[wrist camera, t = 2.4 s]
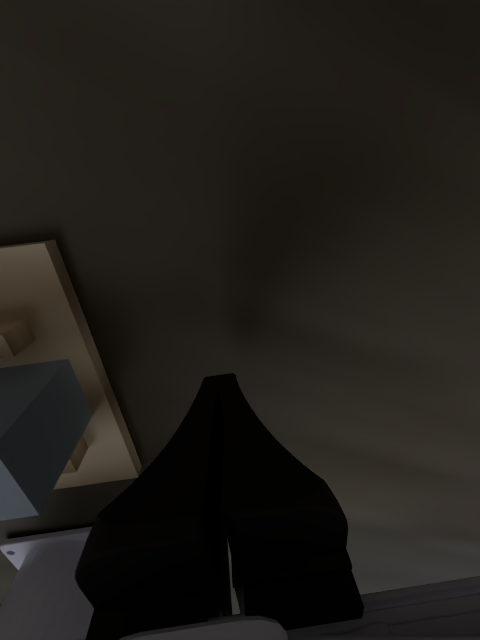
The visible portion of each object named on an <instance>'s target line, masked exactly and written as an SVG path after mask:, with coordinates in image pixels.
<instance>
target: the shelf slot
mask: <svg viewBox="0 0 480 640" xmlns="http://www.w3.org/2000/svg"><path fill="white" fill-rule="evenodd" d="M64 359H69V361H70V364H71V366H72V368H73V370H74V373H75V375H76V377H77V379H78V382H79V384H80V386H81V388H82V391H83V393H84V395H85V397H86V400H87V402H88V404H89V406H90V409H91V411H92V413H93V416H92V418H91V420H90V422H89V423H88V425H87V427H86V429H85V431H84V433H83V435H82V436H81V438H80V440H79V442H78V444H77V446H76V448H75V450H74V451H73V453H72V455H71V457H70V459H69V461H68V463H67V464H66V466H65V468H64V470H63V472H62V474H61V476H60V477H59V479H58V481H57V483H56V485H55V487H54V489H53V490H55V489H62V488H69V487H76V486H83V485H90V484H97V483H104V482H111V481H118V480H125V479H132V478H138V477H139V474H140V470H141V467H142V465H141V463H140V460H139V457H138V455H137V452H136V449H135V447H134V444H133V442H132V439H131V436H130V434H129V431H128V429H127V426H126V423H125V421H124V418H123V416H122V413H121V410H120V408H119V405H118V403H117V400H116V397H115V395H114V392H113V390H112V387H111V384H110V382H109V379H108V377H107V374H106V371H105V369H104V366H103V364H102V361H101V358H100V356H99V353H98V350H97V348H96V345H95V343H94V340H93V337H92V335H91V332H90V330H89V327H88V324H87V322H86V319H85V317H84V314H83V311H82V309H81V306H80V304H79V301H78V298H77V296H76V293H75V291H74V288H73V285H72V283H71V280H70V278H69V275H68V272H67V270H66V267H65V265H64V262H63V259H62V257H61V254H60V252H59V249H58V246H57V244H56V241H55V240H47V241H39V242H31V243H23V244H14V245H6V246H0V368H4V367H11V366H19V365H26V364H34V363H41V362H49V361H56V360H64Z"/></svg>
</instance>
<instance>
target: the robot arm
mask: <svg viewBox="0 0 480 640" xmlns="http://www.w3.org/2000/svg"><path fill="white" fill-rule="evenodd" d="M347 535H348V523H347V520H346V517H345V515H344V513H343V511H342V509H341V507H340V505H339V503H338V501H337V499H336V498H335V496H334V494H333V493H332V491H331V490H330V488H329V487H328V485H327V484H326V482H325V481H324V480H323V479H322V478H320V477H319V476H318V475H316V474H315V473H314V472H312V471H311V470H310V469H308V468H307V467H306V466H305V465H303V464H302V463H301V462H300V461H299V460H297V459H296V458H295V457H294V456H293V455H292V454H291V453H290V452H289V451H288V450H286V449H285V448H284V447H283V446H282V445H281V444H280V443H279V442H278V441H277V440H276V439H275V438H274V437H273V435H272V434H271V433H270V432H269V431H268V430H267V429H266V427H265V426H264V425H263V424H262V422H261V421H260V420H259V419H258V417H257V416H256V414H255V413H254V412H253V410H252V409H251V407H250V405H249V404H248V402H247V400H246V399H245V397H244V395H243V393H242V392H241V389H240V387H239V385H238V383H237V380H236V375H235V374H233V373H231V374H224V375H216V376H209V377H205V378H204V379H203V382H202V384H201V387H200V389H199V391H198V393H197V396H196V398H195V400H194V402H193V404H192V405H191V407H190V409H189V411H188V413H187V415H186V416H185V418H184V420H183V421H182V423H181V424H180V426H179V428H178V429H177V431H176V432H175V434H174V435H173V437H172V438H171V439H170V441H169V442H168V443H167V445H166V446H165V447H164V449H163V450H162V451H161V452H160V453H159V455H158V456H157V457H156V458H155V460H154V461H153V462H152V463H151V464H150V465H149V466H148V468H147V469H146V470H145V471H144V472H143V473H142V474H141V475H140V476H139V477H138V478H137V479H136V480H135V481H134V482H133V483H132V484H131V485H130V486H129V487H128V488H127V489H126V490H125V491H124V492H123V493H121V494H120V495H119V496H118V497H117V498H116V499H115V500H113V501H112V502H111V503H110V504H109V505H108V506H107V507H105V508H104V509H103V510H102V511H101V512H99V514H98V516H97V518H96V520H95V522H94V524H93V526H92V527H85V528H79V529H72V530H65V531H58V532H52V533H45V534H38V535H31V536H25V537H18V538H11V539H6V540H4V541H3V543H2V544H1V546H0V549H1V551H2V552H3V553H4V554H5V555H6V557H7V558H8V559H9V560H10V561H11V562H12V563H13V565H14V566H15V567H16V568H17V569H18V570H19V571H18V573H17V575H16V577H15V579H14V581H13V583H12V585H11V587H10V589H9V591H8V593H7V594H6V596H5V598H4V600H3V602H2V604H1V606H0V640H480V576H477V577H471V578H464V579H458V580H452V581H445V582H439V583H433V584H426V585H420V586H414V587H407V588H401V589H394V590H388V591H382V592H375V593H369V594H363V595H360V593H359V591H358V588H357V585H356V582H355V579H354V577H353V574H352V571H351V570H352V564H351V561H350V558H349V555H348V552H347V550H346V545H347ZM227 538H228V542H227ZM228 543H229V547H230V552H231V561H232V583H233V588H235V592H236V596H237V600H238V604H239V609H240V613H241V614H235V615H232V604H231V589H230V574H229V558H228Z"/></svg>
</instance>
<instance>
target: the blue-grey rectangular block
mask: <svg viewBox="0 0 480 640" xmlns="http://www.w3.org/2000/svg"><path fill="white" fill-rule="evenodd" d="M92 416H93V413H92V411H91V409H90V406H89V404H88V402H87V400H86V397H85V395H84V393H83V391H82V388H81V386H80V384H79V382H78V379H77V377H76V375H75V373H74V370H73V368H72V366H71V364H70V361H69V359H64V360H56V361H49V362H41V363H34V364H26V365H19V366H11V367H4V368H0V521H2V520H9V519H16V518H23V517H30V516H36V515H40V513H41V511H42V509H43V507H44V505H45V503H46V502H47V500H48V498H49V496H50V494H51V492H52V490H53V489H54V487H55V485H56V483H57V481H58V479H59V477H60V476H61V474H62V472H63V470H64V468H65V466H66V464H67V463H68V461H69V459H70V457H71V455H72V453H73V451H74V450H75V448H76V446H77V444H78V442H79V440H80V438H81V436H82V435H83V433H84V431H85V429H86V427H87V425H88V423H89V422H90V420H91V418H92Z"/></svg>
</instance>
